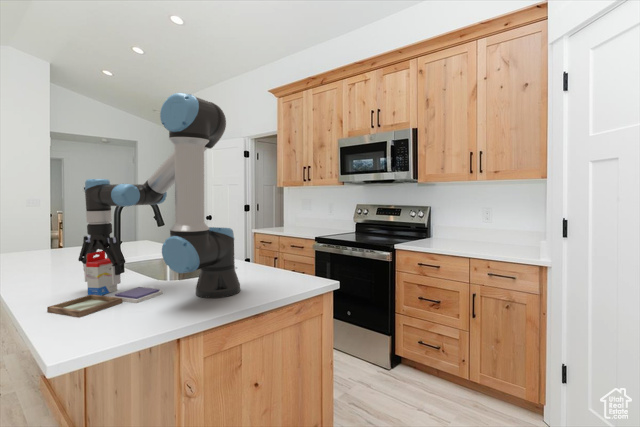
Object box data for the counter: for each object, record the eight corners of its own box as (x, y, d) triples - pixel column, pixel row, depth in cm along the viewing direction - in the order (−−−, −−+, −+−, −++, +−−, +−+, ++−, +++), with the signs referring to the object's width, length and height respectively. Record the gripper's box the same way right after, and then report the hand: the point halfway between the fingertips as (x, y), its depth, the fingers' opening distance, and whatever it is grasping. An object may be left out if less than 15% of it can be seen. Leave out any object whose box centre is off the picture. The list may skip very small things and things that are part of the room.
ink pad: (162, 293, 127) (162, 288, 126) (136, 302, 116) (136, 297, 116) (139, 291, 130) (138, 286, 130) (111, 299, 120) (111, 294, 120)
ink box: (99, 296, 124) (97, 254, 123) (87, 296, 125) (85, 254, 124) (118, 290, 132) (116, 250, 131) (106, 289, 133) (104, 250, 132)
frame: (122, 302, 117) (122, 298, 116) (79, 317, 103) (79, 312, 103) (91, 298, 122) (91, 294, 121) (47, 311, 109) (47, 307, 108)
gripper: (134, 222, 126) (137, 282, 127) (85, 221, 135) (88, 277, 136) (115, 224, 119) (118, 288, 120) (64, 223, 128) (68, 282, 129)
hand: (102, 282), depth 128 cm, fingers open, 13 cm apart
